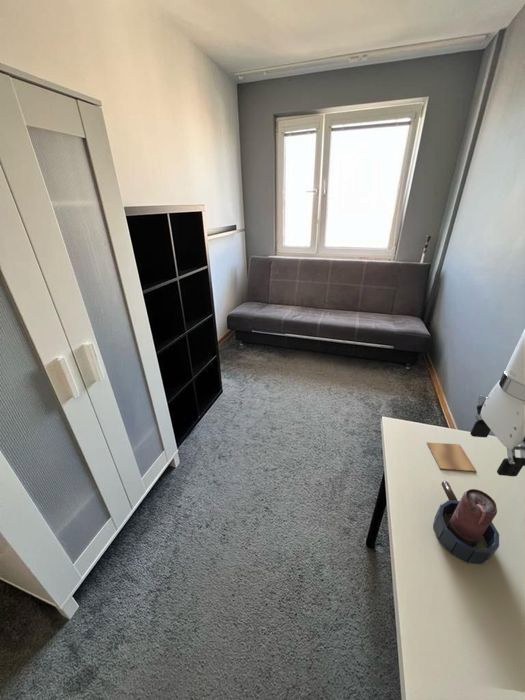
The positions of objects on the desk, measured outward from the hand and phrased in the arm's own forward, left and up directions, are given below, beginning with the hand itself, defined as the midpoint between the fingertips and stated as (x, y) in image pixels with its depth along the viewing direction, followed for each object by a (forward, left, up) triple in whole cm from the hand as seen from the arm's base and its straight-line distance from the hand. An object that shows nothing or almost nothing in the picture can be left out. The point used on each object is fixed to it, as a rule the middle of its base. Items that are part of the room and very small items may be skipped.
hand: (491, 453), depth 57 cm
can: (0, +3, -26) cm, 26 cm away
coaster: (-8, -21, -25) cm, 34 cm away
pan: (0, 0, -25) cm, 25 cm away
